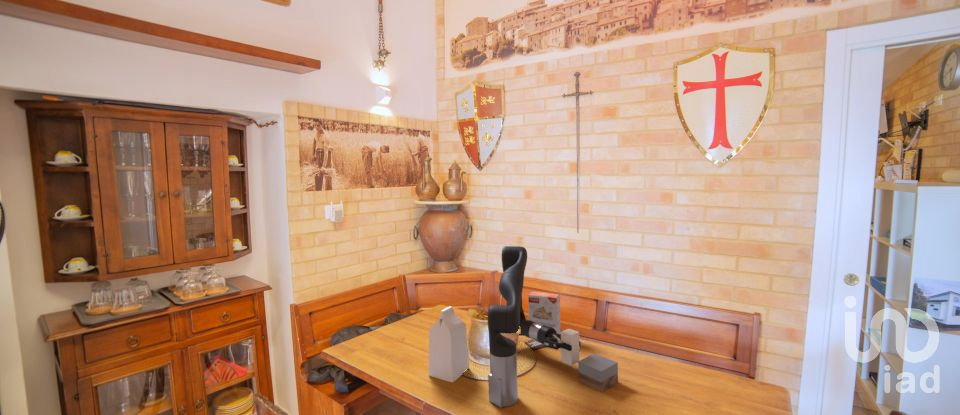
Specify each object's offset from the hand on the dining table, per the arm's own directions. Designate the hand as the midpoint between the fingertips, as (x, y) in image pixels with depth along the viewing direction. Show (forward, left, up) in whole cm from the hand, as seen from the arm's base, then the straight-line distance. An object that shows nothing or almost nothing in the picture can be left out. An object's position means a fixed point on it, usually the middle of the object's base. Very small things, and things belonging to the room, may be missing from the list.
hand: (575, 346), depth 151 cm
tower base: (0, -10, -11) cm, 15 cm away
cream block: (0, +3, -7) cm, 8 cm away
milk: (-36, +35, -11) cm, 51 cm away
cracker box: (+17, +31, -11) cm, 37 cm away
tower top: (0, -10, -7) cm, 12 cm away
